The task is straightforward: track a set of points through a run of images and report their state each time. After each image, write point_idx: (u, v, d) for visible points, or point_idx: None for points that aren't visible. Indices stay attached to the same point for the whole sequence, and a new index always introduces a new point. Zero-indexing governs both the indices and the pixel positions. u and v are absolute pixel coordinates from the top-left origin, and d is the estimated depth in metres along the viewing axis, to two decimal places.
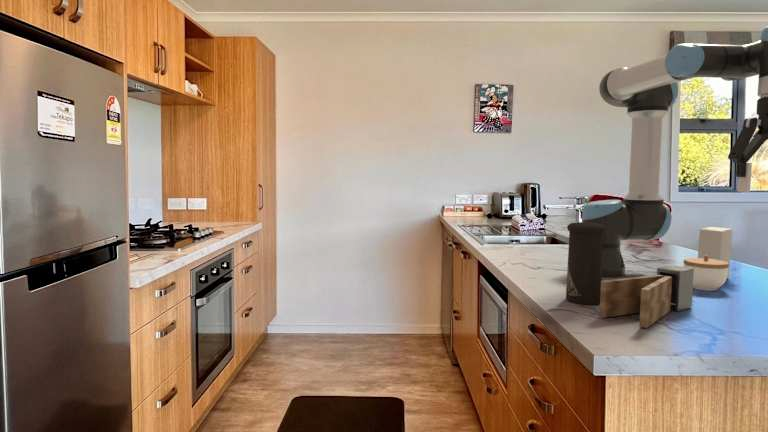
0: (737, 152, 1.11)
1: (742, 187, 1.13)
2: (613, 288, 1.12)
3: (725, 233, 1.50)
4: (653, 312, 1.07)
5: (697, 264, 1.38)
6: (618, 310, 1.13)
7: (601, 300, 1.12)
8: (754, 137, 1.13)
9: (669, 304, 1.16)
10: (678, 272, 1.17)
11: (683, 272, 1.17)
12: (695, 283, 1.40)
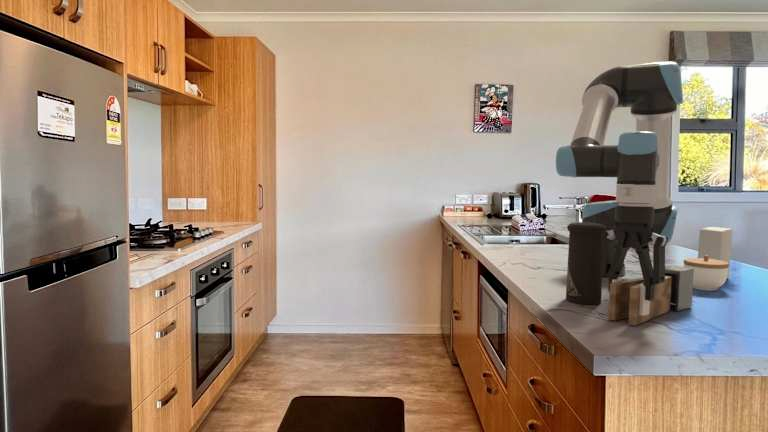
0: None
1: None
2: (622, 290, 1.10)
3: (725, 233, 1.50)
4: None
5: (697, 264, 1.38)
6: (626, 312, 1.11)
7: (610, 303, 1.10)
8: None
9: (668, 304, 1.16)
10: (678, 272, 1.17)
11: (683, 272, 1.17)
12: (695, 283, 1.40)
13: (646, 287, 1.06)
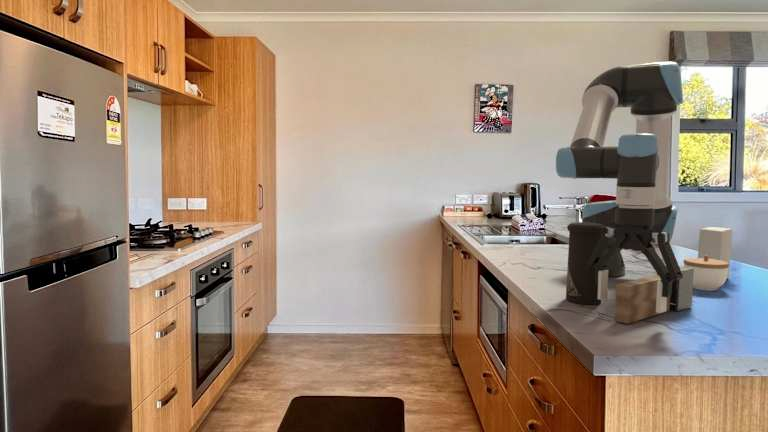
0: None
1: None
2: None
3: (725, 233, 1.50)
4: (638, 309, 1.09)
5: (697, 264, 1.38)
6: None
7: (617, 304, 1.09)
8: None
9: (667, 304, 1.16)
10: None
11: (683, 272, 1.17)
12: (695, 283, 1.40)
13: (664, 284, 1.03)
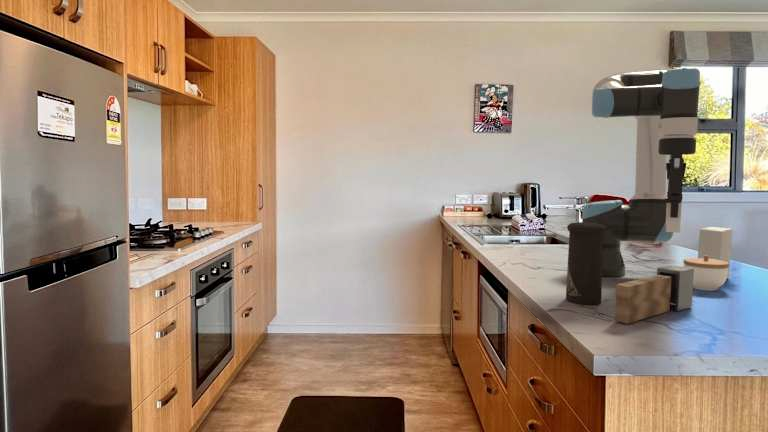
0: None
1: None
2: None
3: (725, 233, 1.50)
4: (638, 309, 1.09)
5: (697, 264, 1.38)
6: None
7: (617, 304, 1.09)
8: None
9: (667, 304, 1.16)
10: (678, 272, 1.17)
11: (683, 272, 1.17)
12: (695, 283, 1.40)
13: (670, 205, 1.12)
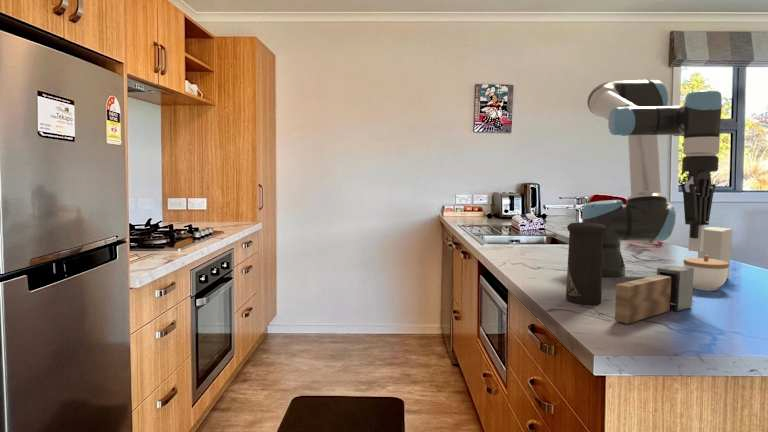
0: None
1: None
2: None
3: (725, 233, 1.50)
4: (638, 309, 1.09)
5: (697, 264, 1.38)
6: None
7: (617, 304, 1.09)
8: None
9: (667, 304, 1.16)
10: (678, 272, 1.17)
11: (683, 272, 1.17)
12: (695, 283, 1.40)
13: None
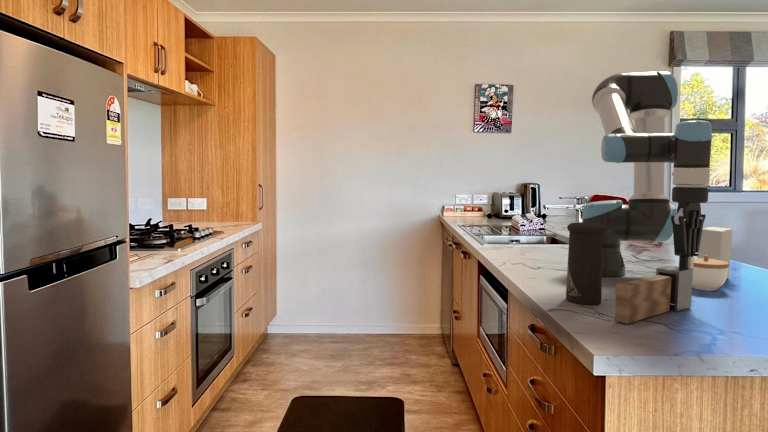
0: None
1: None
2: None
3: (725, 233, 1.50)
4: (638, 309, 1.09)
5: (697, 264, 1.38)
6: None
7: (617, 304, 1.09)
8: None
9: (667, 304, 1.16)
10: (677, 272, 1.16)
11: (682, 272, 1.17)
12: (695, 283, 1.40)
13: None
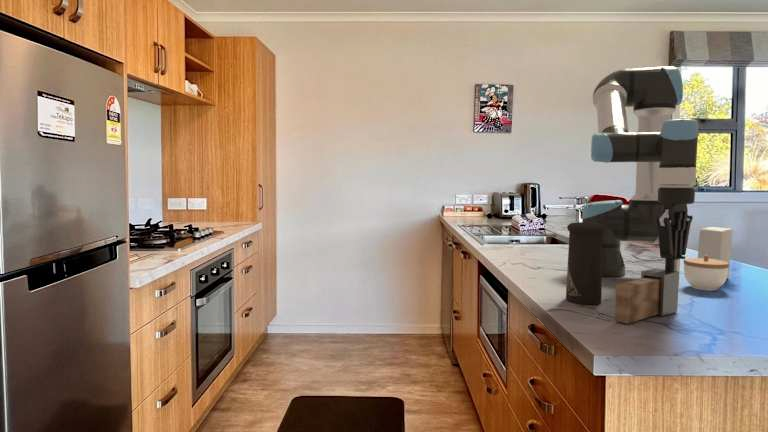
0: None
1: None
2: None
3: (725, 233, 1.50)
4: (638, 309, 1.09)
5: (697, 264, 1.38)
6: None
7: (617, 304, 1.09)
8: None
9: None
10: (662, 276, 1.12)
11: (668, 276, 1.13)
12: (695, 283, 1.40)
13: None
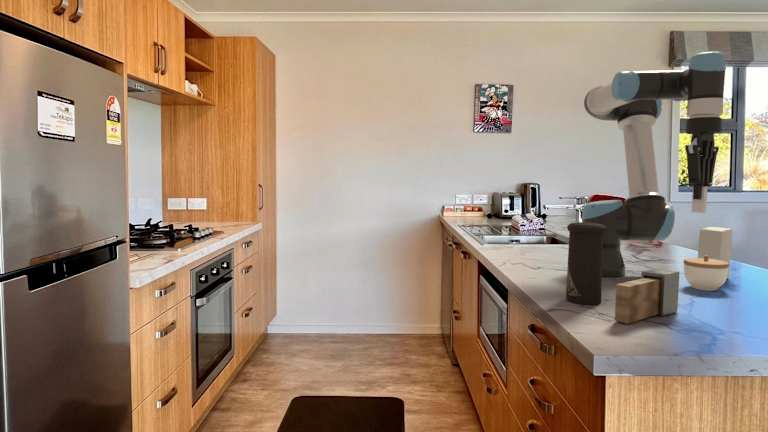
0: None
1: None
2: None
3: (725, 233, 1.50)
4: (638, 309, 1.09)
5: (697, 264, 1.38)
6: None
7: (617, 304, 1.09)
8: None
9: None
10: (663, 275, 1.12)
11: (668, 275, 1.13)
12: (695, 283, 1.40)
13: None
